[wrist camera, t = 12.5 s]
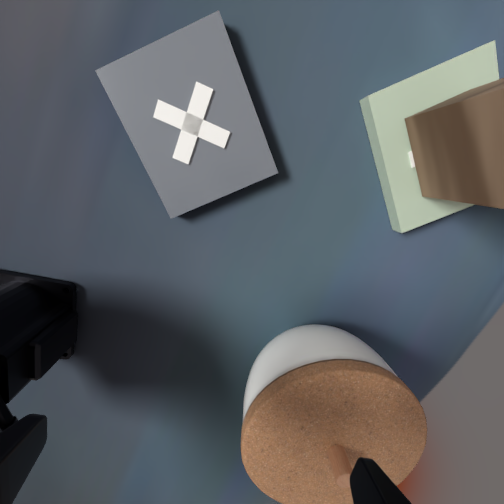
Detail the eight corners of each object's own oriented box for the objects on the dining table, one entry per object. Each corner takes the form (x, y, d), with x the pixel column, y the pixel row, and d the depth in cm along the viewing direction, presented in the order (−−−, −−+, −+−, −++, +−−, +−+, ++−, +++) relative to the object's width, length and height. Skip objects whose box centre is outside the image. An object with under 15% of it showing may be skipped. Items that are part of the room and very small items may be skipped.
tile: (175, 215, 19) (170, 219, 17) (105, 77, 16) (93, 69, 15) (276, 172, 18) (278, 173, 17) (220, 22, 15) (218, 8, 14)
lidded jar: (323, 274, 20) (387, 356, 12) (390, 365, 23) (484, 488, 14) (214, 349, 22) (196, 473, 13) (289, 426, 25) (316, 571, 16)
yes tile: (392, 229, 20) (403, 233, 18) (359, 100, 17) (369, 95, 16) (495, 189, 19) (513, 190, 18) (476, 49, 16) (497, 38, 15)
